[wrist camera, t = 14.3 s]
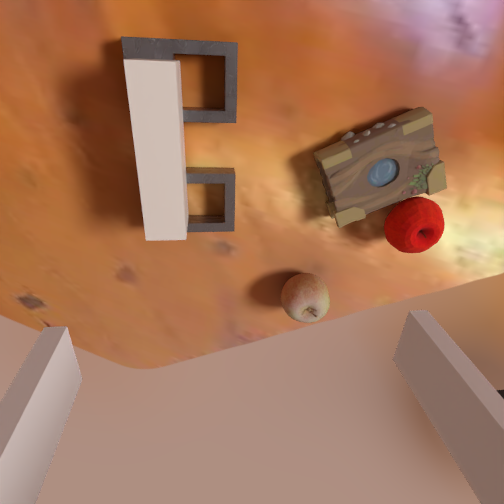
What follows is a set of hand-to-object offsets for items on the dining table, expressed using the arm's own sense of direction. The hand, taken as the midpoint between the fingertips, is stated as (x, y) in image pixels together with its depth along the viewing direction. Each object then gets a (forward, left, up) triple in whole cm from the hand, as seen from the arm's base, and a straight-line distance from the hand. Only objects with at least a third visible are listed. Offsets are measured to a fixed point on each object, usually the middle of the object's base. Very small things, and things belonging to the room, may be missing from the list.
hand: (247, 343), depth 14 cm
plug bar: (0, -6, -34) cm, 35 cm away
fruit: (+22, +13, -35) cm, 43 cm away
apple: (+10, +27, -35) cm, 45 cm away
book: (+2, +21, -35) cm, 41 cm away
